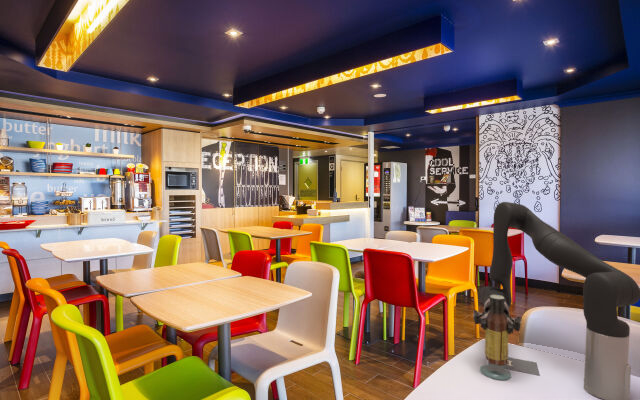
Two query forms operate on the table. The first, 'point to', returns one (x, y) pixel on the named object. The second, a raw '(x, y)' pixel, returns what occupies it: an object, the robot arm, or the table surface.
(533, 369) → the grey card
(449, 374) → the table surface
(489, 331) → the sauce bottle
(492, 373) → the sage green round disc
